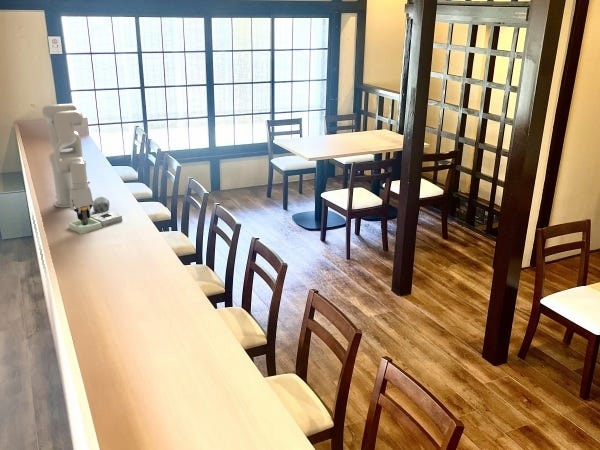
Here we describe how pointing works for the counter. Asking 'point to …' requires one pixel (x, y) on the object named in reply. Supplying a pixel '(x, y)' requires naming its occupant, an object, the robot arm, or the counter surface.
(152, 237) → the counter surface
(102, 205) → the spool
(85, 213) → the pin
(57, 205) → the robot arm
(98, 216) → the grey slotted block
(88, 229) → the tray
